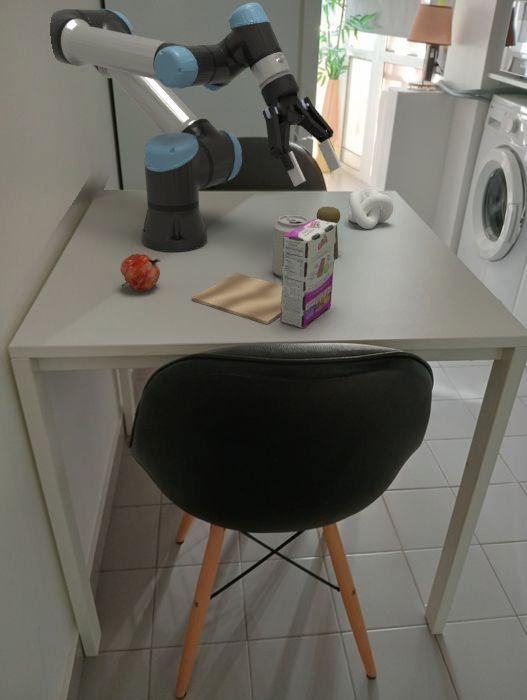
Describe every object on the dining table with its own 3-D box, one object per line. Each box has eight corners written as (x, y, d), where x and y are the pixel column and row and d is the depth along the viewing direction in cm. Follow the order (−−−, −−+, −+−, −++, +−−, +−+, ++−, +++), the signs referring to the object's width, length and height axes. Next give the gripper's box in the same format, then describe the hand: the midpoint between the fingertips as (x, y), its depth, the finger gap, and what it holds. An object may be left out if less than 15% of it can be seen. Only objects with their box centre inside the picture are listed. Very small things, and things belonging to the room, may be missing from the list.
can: (283, 283, 124) (286, 226, 118) (266, 270, 129) (268, 215, 123) (314, 277, 127) (319, 221, 121) (296, 265, 132) (299, 211, 126)
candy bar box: (307, 300, 117) (313, 217, 109) (331, 307, 114) (339, 222, 106) (278, 322, 108) (282, 234, 100) (302, 330, 106) (309, 240, 98)
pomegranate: (121, 305, 117) (157, 282, 113) (100, 273, 116) (136, 248, 112) (141, 295, 124) (176, 272, 119) (122, 264, 123) (156, 240, 118)
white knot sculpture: (372, 235, 151) (377, 200, 146) (332, 224, 158) (336, 190, 153) (395, 225, 159) (400, 191, 154) (356, 215, 165) (360, 182, 161)
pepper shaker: (337, 261, 135) (341, 213, 129) (310, 259, 136) (313, 210, 130) (339, 252, 140) (344, 205, 135) (313, 249, 141) (317, 202, 135)
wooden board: (191, 300, 115) (191, 297, 115) (236, 275, 126) (236, 272, 126) (267, 324, 107) (267, 321, 107) (308, 295, 119) (308, 293, 118)
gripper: (249, 79, 116) (296, 182, 119) (322, 65, 132) (362, 156, 136) (225, 98, 121) (271, 197, 124) (298, 83, 138) (337, 170, 141)
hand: (318, 176), depth 130 cm, fingers open, 13 cm apart
